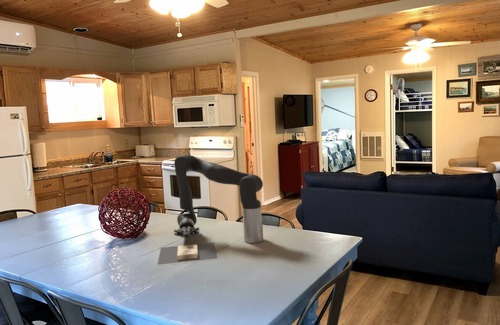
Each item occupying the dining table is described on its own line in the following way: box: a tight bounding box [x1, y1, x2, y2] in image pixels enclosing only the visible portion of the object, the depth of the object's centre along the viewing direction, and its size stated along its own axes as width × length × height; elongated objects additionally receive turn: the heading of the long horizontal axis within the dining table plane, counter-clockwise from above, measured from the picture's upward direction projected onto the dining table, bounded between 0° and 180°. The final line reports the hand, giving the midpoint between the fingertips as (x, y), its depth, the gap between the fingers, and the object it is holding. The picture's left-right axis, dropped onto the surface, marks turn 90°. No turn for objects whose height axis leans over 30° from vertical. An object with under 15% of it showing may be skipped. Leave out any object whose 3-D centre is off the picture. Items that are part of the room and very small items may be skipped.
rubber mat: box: [156, 242, 218, 267], centre depth 186 cm, size 26×24×1 cm
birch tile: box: [177, 243, 198, 260], centre depth 184 cm, size 9×2×14 cm
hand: (186, 236), depth 189 cm, fingers closed
